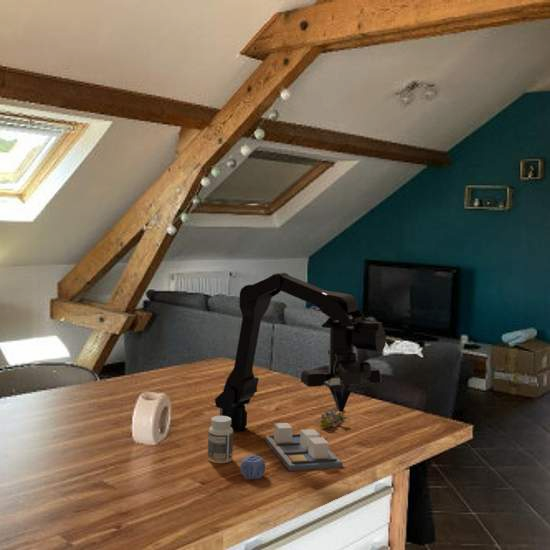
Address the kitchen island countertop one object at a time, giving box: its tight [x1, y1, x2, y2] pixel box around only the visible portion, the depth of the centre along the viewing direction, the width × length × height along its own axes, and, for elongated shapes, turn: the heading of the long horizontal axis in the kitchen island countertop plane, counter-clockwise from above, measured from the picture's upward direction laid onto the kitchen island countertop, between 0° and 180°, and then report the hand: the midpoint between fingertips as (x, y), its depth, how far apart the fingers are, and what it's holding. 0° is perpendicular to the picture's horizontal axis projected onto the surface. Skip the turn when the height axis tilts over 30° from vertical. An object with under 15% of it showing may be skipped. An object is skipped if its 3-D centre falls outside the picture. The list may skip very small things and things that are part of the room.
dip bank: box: [263, 433, 344, 472], centre depth 167 cm, size 13×21×1 cm, turn 17°
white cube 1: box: [308, 436, 330, 459], centre depth 161 cm, size 4×4×4 cm
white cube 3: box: [273, 422, 294, 443], centre depth 171 cm, size 4×4×4 cm
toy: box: [319, 406, 346, 430], centre depth 191 cm, size 5×5×15 cm
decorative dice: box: [240, 455, 266, 480], centre depth 151 cm, size 4×4×4 cm
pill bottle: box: [207, 415, 234, 464], centre depth 159 cm, size 6×6×10 cm
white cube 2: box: [299, 428, 320, 450], centre depth 167 cm, size 4×4×4 cm
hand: (340, 411), depth 164 cm, fingers closed
